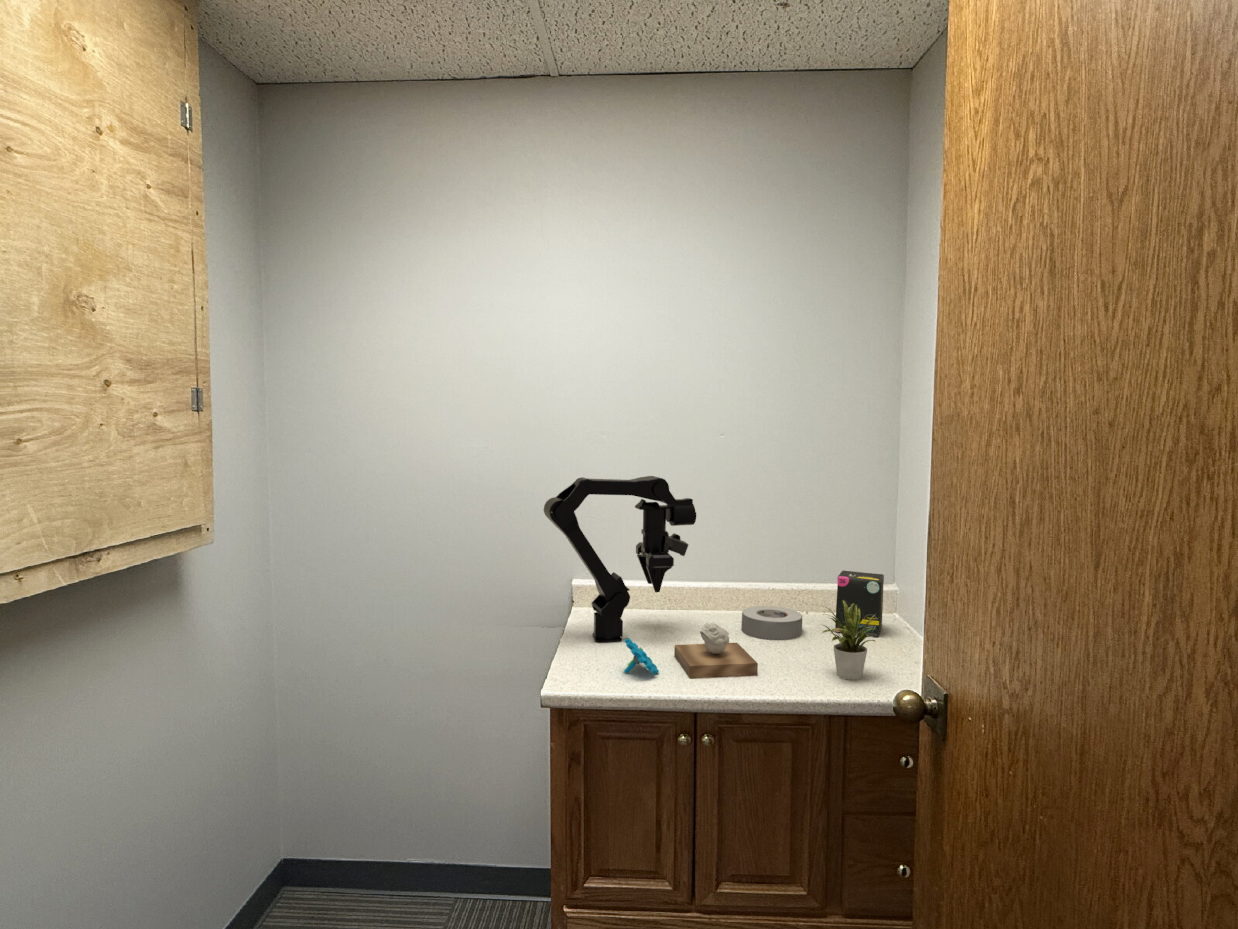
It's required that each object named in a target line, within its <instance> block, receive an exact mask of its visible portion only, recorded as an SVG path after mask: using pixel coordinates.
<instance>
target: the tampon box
mask: <svg viewBox="0 0 1238 929" xmlns="http://www.w3.org/2000/svg"><path fill="white" fill-rule="evenodd" d="M884 581H885V574H881V573H871V572H862V571H854V570H853V571H852V570H842V571H841V572H840V573H839V574H838V576H837V586H836V587H837V591H836V602H835V603H836V604H835V605H836V607H835V616H836V617H837V619H838V620H839V622H840V623H841V624H842V626H846V623H845V615H844V604H843V601H845V603H846V604H847V606H848V610H849V609H850V606H851V605H852V604H853V603H854V605H853V610H854V608H855V605H857V604H858V605H857V613H858V609H860V614H861V617H860V622H859V627H858V631H857V634H859V632H860V631H861V629H862V628H863V627H864V625H865V624H866V623H867V622H868V621H869V620H870V619H871V618H872V617H873V616H874V615H875V614H876V615H875V616H874V617H873V618H872V619H871V620H872V621H871V620H870V621H871V622H870V623H869V624H868V625H867V627H866V628H865V629H864V631H865V630H867V629H870V628H873V629H871V630H869V631H867V632H865V633H864V634H866V635H868V637H870V636H873V637H872V638H879V635H880V633H881V631H880V630H882V628H883V611H884V610H883V606H884ZM853 610H852V613H853ZM876 618H877V619H876ZM873 619H874V620H873ZM835 621H836V620H835ZM853 621H854V619H853ZM836 622H837V621H836ZM834 623H835V622H834ZM837 623H838V622H837ZM838 624H839V623H838ZM834 626H835V627H834V629H839V628H838V626H837V625H836V623H835V624H834ZM839 626H840V625H839ZM840 628H841V627H840ZM864 631H863V632H864ZM836 632H837V633H838V632H840V631H836ZM839 634H841V632H840V633H839ZM861 634H862V633H861ZM864 634H863V635H864Z"/></svg>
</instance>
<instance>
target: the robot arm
mask: <svg viewBox="0 0 1238 929" xmlns="http://www.w3.org/2000/svg"><path fill="white" fill-rule="evenodd" d="M589 495H598V496H599V495H602V496H603V495H605V496H633V497H639V498H641V499H640V500H639V501H638V503H636V504H635V505H634V508H635V509H638V510H639V511H642V528H641V529H640V530H641V531H640V533H641V535H642V541H639V542H638V543H637V544H636V545H635V554H636V558H638V561H639V564H640V567H641V569H642V571H643V574H644V577H645V580H646V582H647V584H649V585H652V587H653V590H654V592H655V593H660V591H661V588H662V584H663V581H664V577H665V574H666V572H668V571H669V570H670V569H672V568H673V567H674V565H675V564H674V563H675V560H674V559H675V558H674V557H673V556H672V555H671V553H670V551H671V552H673V553H675V554H679V555H680V556H681V557H685V555H686V553H687V550H688V548H689V543H687V542H686V541H684V540H682V539H681V535H679V534H677V533H672V534H671V535H669V534H670V533H669V532H668V531H667V530H666V528H667V527H666V526H667V523H669V525H670V526H672V527H675V526H693V525H694V524H696V521H697V511H696V507H695V504H694V501H693V500H694V499H693V498H689V497H686V498H685V497H684V498H680V499H679V498H677V499H676V497H675V496H674V495H673V493H672V492H671V490H670V485H669V482H668V481H667V480H666V479H664V478H663V477H659V476H654V475H646V476H640V477H636V478H631V479H614V478H610V479H609V478H588V477H587V478H586V477H582V476H581V477H579V478H576V479H575V481H573V483H571V484H570V485H569V486H567V487H566V488H565V489H563V490H562V491H561V492H559V494H557V495H556V496H554V497H551V498H549V499H548V500H547V501H546V502H545V504H544V506H543V513H544V515H545V517H546V518H547V519H548V520H549V521H550V522H551V523H552V524H553V525H554V526H555V527H556V528H557V529H558V531H560V532H561V533H562V534H563V535H564V536H565V537H566V539H567V540H568V542H569V543H570V545H571V547H572V549H574V551H575V553H576V554H577V556H578V557H579V559H580V561H582V563H583V564H584V566H585V568H586V569H587V571H588V572H589V574H590V575H591V576H592V578H593V581H594V582H595V587H596V590H597V592H598V595H597V596H596V597H595V598H594V599H593V601H591V607H592V609H593V611H595V612H593V633H592V636H593V638H594V641H595V643H608V642H609V643H610V642H622V638H623V633H624V632H623V630H624V629H623V628H624V626H623V624H624V623H623V622H624V621H623V618H622V616H623V613H624V611H625V609H626V608H627V607H628V606H629V603H630V600H631V595H630V593H629V591H630V588H628V587H627V585H626V584H625V582H624V580H623V578H622V576H621V575H619V574H617V573H616V572H612V573H610V572H609V570H608V569H607V567H606V566H605V564H604V563H603V562H602V560H601V558H600V556H598V554H597V551H596V550H595V549H594V548H593V546H592V545H591V543H590V541H589V540H588V538H587V537H586V535H585V534H584V532H583V531H582V529H581V528H580V524H579V522H578V521H579V520H578V518H577V515H576V512H575V511H576V510H577V509H579V507H580V506H581V505H582V503H583V502H584V501H585V499H586V498H587V497H588V496H589ZM645 499H647V500H652V501H646V500H645ZM659 502H660V503H664V505H663V504H662V505H660V504H659Z"/></svg>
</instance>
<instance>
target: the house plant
mask: <svg viewBox="0 0 1238 929" xmlns="http://www.w3.org/2000/svg"><path fill="white" fill-rule="evenodd" d="M843 604H844V615H845V623H846V626H842V624H841V623H840V622H839V620H838V619H837V617H836V613H834V612H833V611H832V610H831V609H830V608H829V607H827V606H824V605H821V604H819V606H820V607H824V608H826V609H827V610H826V611H828V612H829V613H830V614H832V615H829V614H828V616H829V617H830V619H831V620H832V621H833V622H834V623H836V625H837V626H838V628H839V629H835V628H832V629H831V628H830V627H828V626H827V625H825V624H822V623H820V625H822V626H824V627H825V628H827V629H824V630H823V631H822V632H821V634H823V633H826V632H827V633H828V632H830V635H833V637H832V639H831V642H833V641H836V640H838V641H839V642H838V643H835V644H834V645H833V653H834V661H835V669H836V675H838V676H839V678H841V679H843V678H844V680H847V679H848V680H847V681H858V680H861V679H862V678H863V673H864V668H865V664H866V658H867V654H868V648H867V647H866V646H864V644H866V643H868V642H870V641H871V642H876V640H875V639H869V640H865V639H866V638H868V637H869V636H868V635H866V634H864V633H865V632H867V631H869V630H871V629H873V628H870V629H867V630H865V631H864V629H865V628H866V627H867V625H868V624H869V623H870V622H871V621H872V620H871V619H872V618H873V617H874V616H875V615H876V614H875V615H874V616H873V617H872V618H871V619H870V620H871V621H870V620H869V621H868V622H867V623H866V624H865V625H864V627H863V628H862V629H861V631H860V632H859V634H858V635H856V634H857V631H858V627H859V622H860V617H861V614H860V609H858V613H857V605H858V604H857V605H855V608H854V610H853V605H854V603H853V604H852V605H851V606H850V609H849V610H848V606H847V604H846V603H845V601H843ZM852 610H853V613H852ZM821 615H823V616H824V615H825V616H827V614H825V613H822V614H821ZM853 619H854V621H853ZM876 619H877V618H876ZM873 620H874V619H873ZM836 621H837V622H838V623H839V624H838V623H837V622H836ZM839 625H840V626H839ZM840 627H841V628H840ZM836 631H840V632H841V633H838V632H836ZM863 631H864V632H863ZM835 633H836V634H835ZM861 633H862V634H861ZM840 634H841V635H840ZM863 634H864V635H863ZM864 640H865V641H864ZM838 676H837V677H838Z"/></svg>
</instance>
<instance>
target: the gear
mask: <svg viewBox="0 0 1238 929" xmlns="http://www.w3.org/2000/svg"><path fill="white" fill-rule="evenodd" d="M623 642H624V643H625V646H626V647H627V648H628V649H629V650H630V653H631V654H632V655H633V658H632V659H631V661H629V663H628V664H627V667H626V668H624V669H623V672H624V673H625V674H626V673H628V674H629V673H630V672H631V671H632V670H633V668H635V667H636V666H637V665H638V666H639V665H640V664H644V665H645V666H644V667H645V669H647V670H648V671H649V672H651V673H652V674H653V675H654V676H656V675H657V674H658V673H660V670H659V669H658V667H657V665H656V664H655V663H653V660H652V659H651V657H649V656H648V655H647V653H646V652H645V651H644V649H643V648H642V647H641V646H640V647H639V645H638V644H637V643H636V642H635V641H634V642H633V640H632V639H631V638H626V639H624V641H623Z"/></svg>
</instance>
